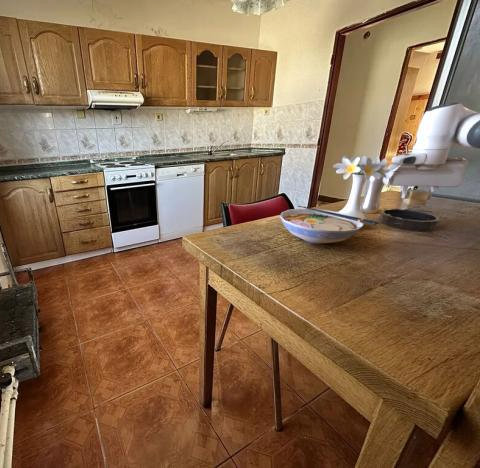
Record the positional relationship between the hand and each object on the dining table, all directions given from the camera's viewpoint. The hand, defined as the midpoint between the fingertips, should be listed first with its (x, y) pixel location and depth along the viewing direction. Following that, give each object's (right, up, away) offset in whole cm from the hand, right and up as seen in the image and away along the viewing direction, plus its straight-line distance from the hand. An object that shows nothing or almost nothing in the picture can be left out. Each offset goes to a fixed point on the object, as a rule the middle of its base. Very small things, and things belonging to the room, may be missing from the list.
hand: (415, 198), depth 90 cm
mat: (+13, -4, +15) cm, 20 cm away
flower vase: (-21, -10, +3) cm, 23 cm away
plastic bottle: (-2, -4, +19) cm, 19 cm away
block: (0, -2, +1) cm, 2 cm away
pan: (0, -9, +4) cm, 10 cm away
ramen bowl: (-39, -14, -6) cm, 42 cm away
